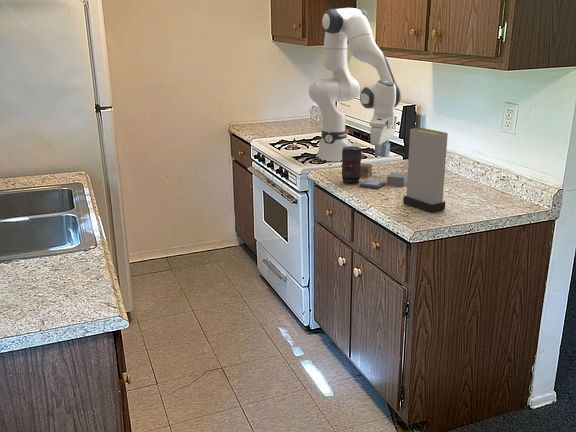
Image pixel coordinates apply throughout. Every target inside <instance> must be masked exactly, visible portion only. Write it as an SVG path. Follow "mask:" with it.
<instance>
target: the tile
mask: <svg viewBox="0 0 576 432" xmlns="http://www.w3.org/2000/svg"><path fill="white" fill-rule="evenodd" d="M385 185H386V182H384V181H381V180H380V181H379V180H372V179H366V180H365V181H363V182H362V183H359V188H364V189H374V190H379V189H381V188H382V187H384V186H385Z"/></svg>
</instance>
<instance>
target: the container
mask: <svg viewBox="0 0 576 432" xmlns="http://www.w3.org/2000/svg"><path fill="white" fill-rule="evenodd" d="M448 134H449V133H448V132H445V131H439V130H434V129H428V128H424V127H416V128H410V129H409V144H408V145H409V146H408V161H407V164H408V165H407V174H408V176H407V183H406V195H404V196H403V200H402V202H403V204H405V205H408V206H411V207H412V208H413V207H414V208H416V209H419V210H423V211H424V212H429V213H436V212H438V211H439V212H440V211H443V210H445V209H446V202H445V201H444V185H445V175H446V174H445V173H446V160H447V159H446V158H447V148H448V147H447V146H448Z"/></svg>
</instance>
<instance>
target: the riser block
mask: <svg viewBox="0 0 576 432" xmlns="http://www.w3.org/2000/svg"><path fill="white" fill-rule="evenodd" d="M407 177H408V173H402V172H390V173H389V174H388V175H387V177H386V185H387V186H392V187H394V186H395V187H405V185H407Z"/></svg>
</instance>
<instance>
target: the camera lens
mask: <svg viewBox="0 0 576 432" xmlns="http://www.w3.org/2000/svg"><path fill="white" fill-rule="evenodd" d="M362 153H363V152H362V148H361V147H360V146H353V145H352V146H346V147H343V150H342V161H341V178H342V183H343V184H344V185H357V184H360V183H359V182H360V179H361V177H360V173H361V170H360V169H361V162H362Z"/></svg>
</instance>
